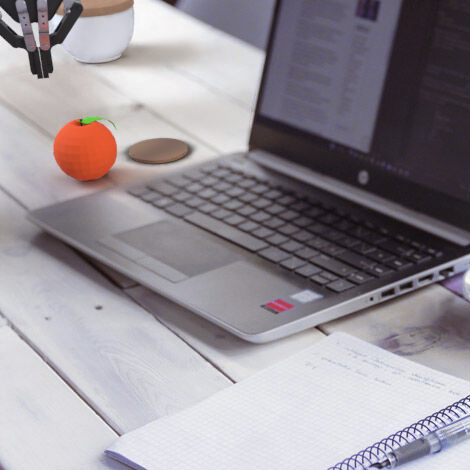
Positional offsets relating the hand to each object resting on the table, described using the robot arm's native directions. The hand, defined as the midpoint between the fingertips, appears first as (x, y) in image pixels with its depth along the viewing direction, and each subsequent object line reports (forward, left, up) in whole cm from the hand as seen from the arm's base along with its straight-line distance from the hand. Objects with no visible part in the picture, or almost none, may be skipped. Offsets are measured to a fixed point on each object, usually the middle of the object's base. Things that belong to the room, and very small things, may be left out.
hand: (42, 76), depth 124 cm
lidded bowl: (-3, +25, -5) cm, 25 cm away
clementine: (+14, -18, -5) cm, 24 cm away
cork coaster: (+19, -10, -5) cm, 22 cm away
